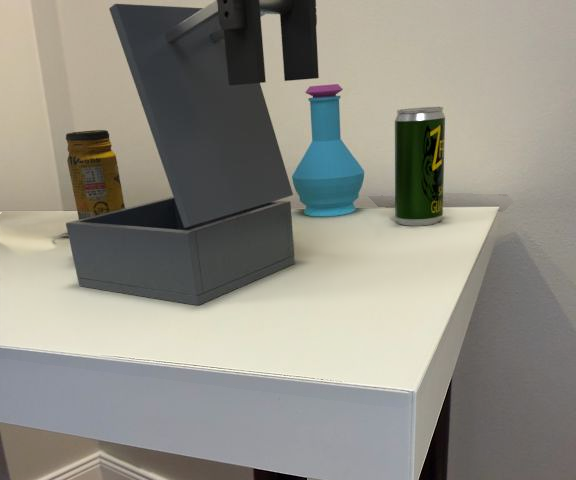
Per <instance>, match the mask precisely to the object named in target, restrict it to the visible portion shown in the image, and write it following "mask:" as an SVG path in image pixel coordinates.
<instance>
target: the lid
mask: <svg viewBox="0 0 576 480" xmlns="http://www.w3.org/2000/svg"><path fill="white" fill-rule="evenodd" d="M293 1H294V0H259V3H260V16H261V17H263V16H265V15H279V16H280V15H283V14H286V13H288V12H289V11H290V10H291V8H292V5H293ZM108 10H109V13H110V15H111V18H112V22H113V24H114V27H115V31H116V33H117V37H118V38H119V42H120V45H121V47H122V51H123V53H124V56H125V59H126V62H127V65H128V68H129V71H130V75H131V77H132V80H133V83H134V86H135V89H136V92H137V95H138V97H139V100H140V103H141V106H142V109H143V111H144V115H145V117H146V120H147V124H148V127H149V131H150V133H151V135H152V138H153V141H154V144H155V147H156V150H157V153H158V155H159V159H160V161H161V164H162V168H163V170H164V173H165V176H166V180H167V182H168V184H169V188H170V191H171V193H172V197H174V199H175V202H176V205H177V208H178V211H179V214H180V217H181V220H182V223H183V226H184V228H186V227H190V226H193V225H196V224H200V223H203V222H206V221H210V220H213V219H216V218H220V217H223V216H226V215H230V214H233V213H236V212H240V211H243V210H246V209H250V208H253V207H256V206H260V205H263V204H266V203H269V202H273V201H280V200H283V199H286V198H289V197H292V196H293V195H294V193H293V189H292V185H291V182H290V180H289V175H288V172H287V169H286V166H285V162H284V160H283V155H282V152H281V149H280V146H279V143H278V139H277V136H276V132H275V129H274V126H273V122H272V119H271V115H270V111H269V108H268V105H267V102H266V98H265V94H264V92H263V89H262V85H261V83H252V84H240V85H229V80H228V70H227V60H226V50H225V40H224V30H222V29H221V26H220V23H219V15H218V12H219V11H218V4H217V0H214V1H212V2H211V3H209V4H208V5H206V6H205V7H190V6H189V7H187V6H172V5H171V6H170V5H150V4H149V5H148V4H130V3H127V4H126V3H114V4H112V5H111V6H110V7H109V9H108Z"/></svg>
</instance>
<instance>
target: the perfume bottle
mask: <svg viewBox="0 0 576 480" xmlns="http://www.w3.org/2000/svg"><path fill="white" fill-rule="evenodd" d="M342 91H344V88H342V86H341V85H340V84H338V83H335V84H322V85H321V84H320V85H312V86H308V88H307V89H306V90H305V92H304V93H305V94H307V95H309V96H311V97H308V98H307V100H308V102H309V107H310V109H309V110H310V124H311V125H310V126H311V142H310V144H309V146H308V148H306V149H307V150H306V151H305V152H304V154H303V157H302V159H301V160H300V161H299V163H298V165H297V167H296V168H295V170H294V172H293V173H292V176H291V179H292V184H293V187H294V190H295V192H296V194H297V196H298V197H299V202H300V203H301V204H302V205H304V206H305V208H304V212H303V213H304V215H306V216H310V217H336V216H337V217H338V216H344V215H348V214H351V213H354V212H356V206H355V205H354V202H356V201H357V199H359V195H360V191H361V189H362V187H363V183H364V179H365V170H364V168H363V167H362V165H361V164H360V163H359V162H358V160H357V158H355V156H354V155H353V154H352V153H351V151H350V150H349V148H348V147H347V146H346V144H345V142H344V141H343V139H342V137H341V115H340V114H341V113H340V111H341V110H340V99H341V95H337V94H339V93H341V92H342Z"/></svg>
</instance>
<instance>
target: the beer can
mask: <svg viewBox="0 0 576 480" xmlns="http://www.w3.org/2000/svg"><path fill="white" fill-rule="evenodd" d="M396 114H397V115H396V117H395V120H394V217H395V219H396V222H397V223H398V224H399V225H403V226H412V227H415V226H416V227H418V226H430V225H435V224H438V223H439V222H441V219H442V217H443V214H444V183H445V182H444V181H445V180H444V178H445V177H444V174H445V142H446V141H445V140H446V139H445V137H446V136H445V135H446V134H445V133H446V115H445V114H444V106H426V107H425V106H424V107H411V108H403V109H397V110H396Z"/></svg>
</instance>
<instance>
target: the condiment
mask: <svg viewBox="0 0 576 480" xmlns="http://www.w3.org/2000/svg"><path fill="white" fill-rule="evenodd" d="M110 139H111V138H110V133H109V131H108V130H107V129H99V130H98V129H96V130H95V129H94V130H93V129H92V130H84V131H82V130H81V131H73V132H67V133H66V134H65V140H66V143H67V149H66V150H67V152H68V156H67V160H66V162H67V166H68V167H67V168H68V171H69V177H70V182H71V187H72V192H73V197H74V202H75V206H76V212H77V216H78V217H77V218H78V220H80V219H84V218H88V217H92V216H96V215H100V214H104V213H108V212H112V211H116V210H121V209H125V208H126V205H125V201H124V194H123V188H122V183H121V177H120V171H119V166H118V159H117V156H116V153H115V152H114V151H113V149H112V145H113V144H112V141H111V140H110ZM59 236H65V237H69V236H68V232H63V233H61V234H59Z"/></svg>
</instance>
